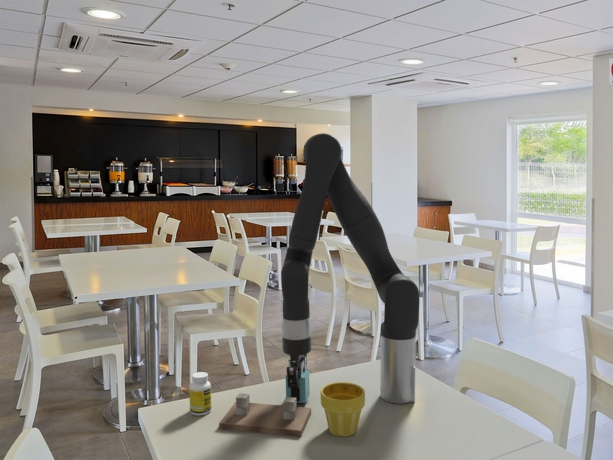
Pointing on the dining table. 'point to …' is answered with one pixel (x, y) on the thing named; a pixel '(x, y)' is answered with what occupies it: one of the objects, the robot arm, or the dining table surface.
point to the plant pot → (342, 407)
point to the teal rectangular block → (301, 387)
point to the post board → (266, 417)
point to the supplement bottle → (200, 394)
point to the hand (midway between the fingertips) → (298, 395)
